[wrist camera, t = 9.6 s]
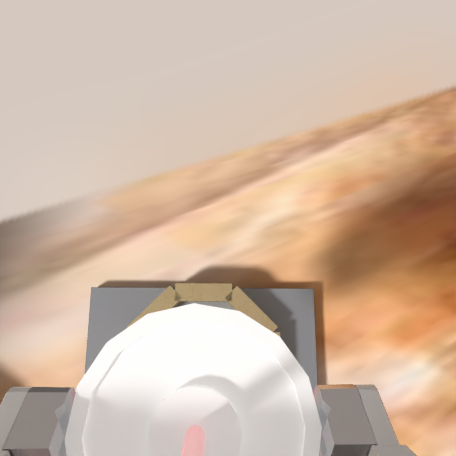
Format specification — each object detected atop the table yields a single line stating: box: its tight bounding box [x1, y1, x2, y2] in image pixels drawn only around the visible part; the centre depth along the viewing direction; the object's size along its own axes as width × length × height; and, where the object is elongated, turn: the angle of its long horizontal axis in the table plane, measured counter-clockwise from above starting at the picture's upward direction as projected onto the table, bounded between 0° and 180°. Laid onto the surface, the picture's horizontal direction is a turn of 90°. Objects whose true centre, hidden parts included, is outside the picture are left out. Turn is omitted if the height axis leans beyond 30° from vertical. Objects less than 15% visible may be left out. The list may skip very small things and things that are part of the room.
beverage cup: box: [65, 303, 322, 456], centre depth 12 cm, size 6×6×14 cm
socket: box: [127, 283, 280, 336], centre depth 28 cm, size 10×10×2 cm
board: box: [85, 287, 317, 393], centre depth 29 cm, size 16×10×1 cm, turn 90°
